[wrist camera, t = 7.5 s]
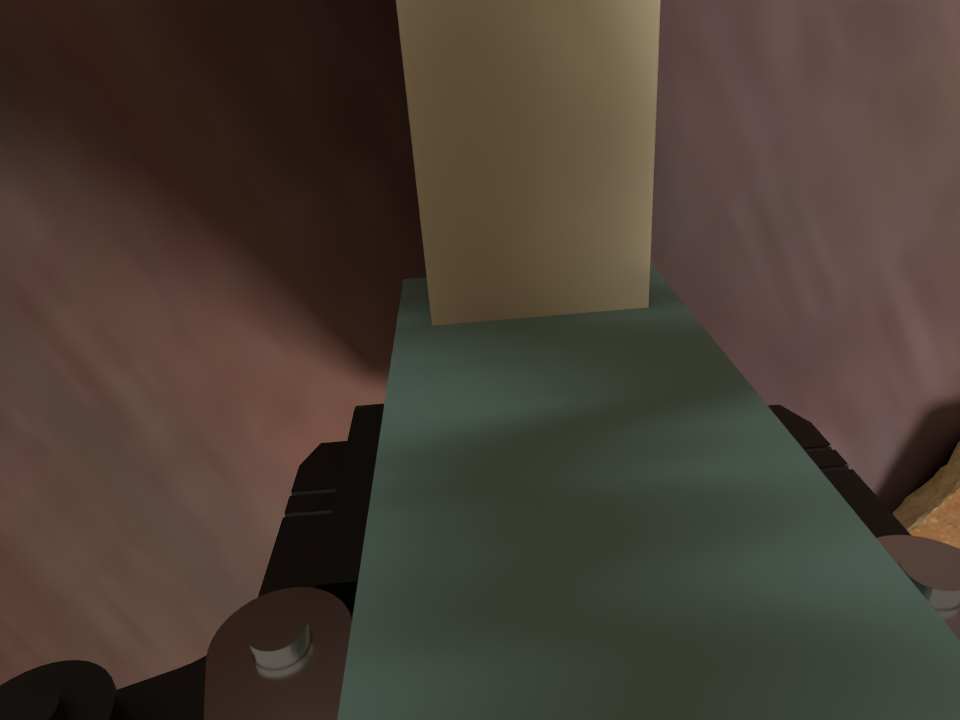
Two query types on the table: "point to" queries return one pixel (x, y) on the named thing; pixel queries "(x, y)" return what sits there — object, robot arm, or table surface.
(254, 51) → the table surface
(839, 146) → the table surface
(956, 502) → the pottery shard
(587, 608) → the two-colour block
